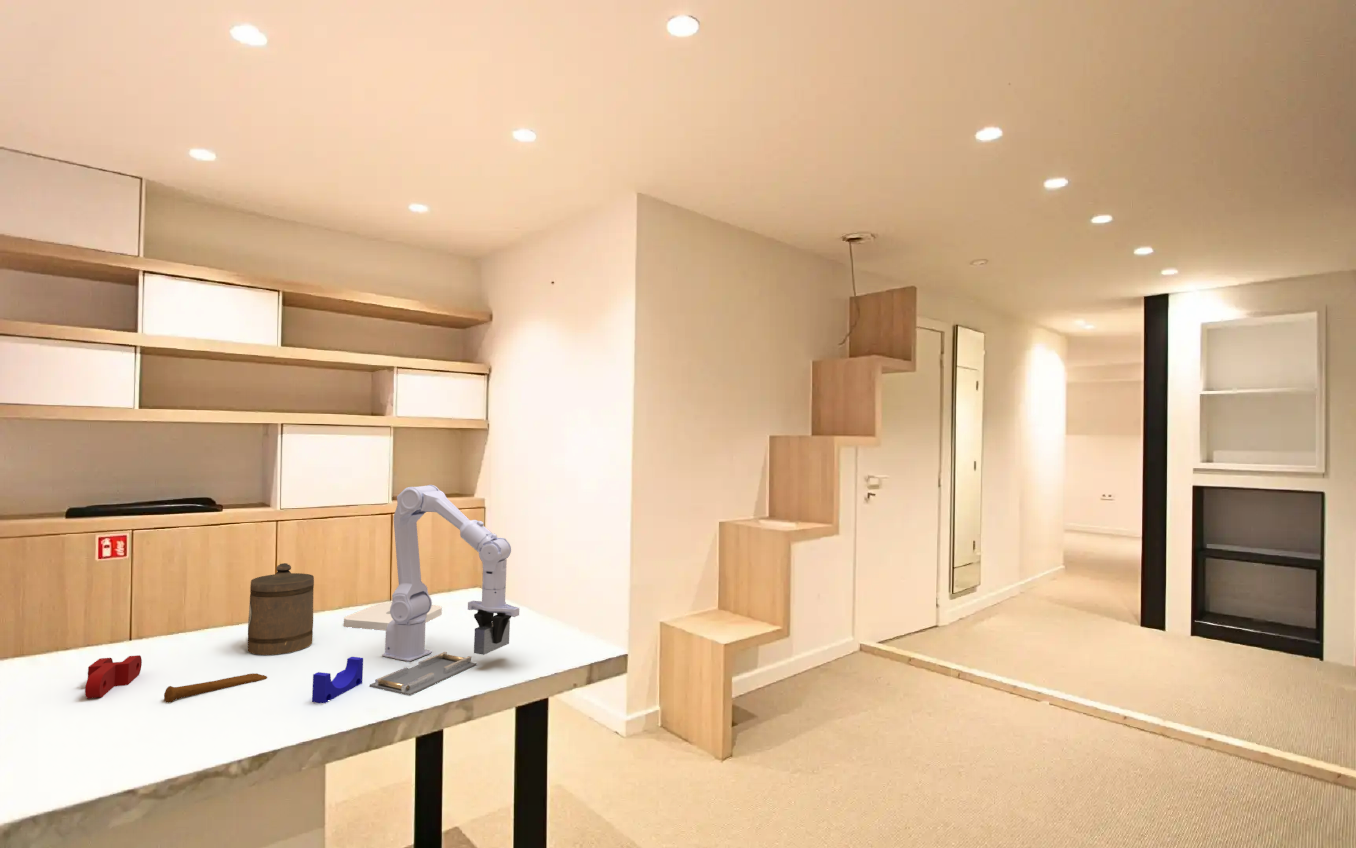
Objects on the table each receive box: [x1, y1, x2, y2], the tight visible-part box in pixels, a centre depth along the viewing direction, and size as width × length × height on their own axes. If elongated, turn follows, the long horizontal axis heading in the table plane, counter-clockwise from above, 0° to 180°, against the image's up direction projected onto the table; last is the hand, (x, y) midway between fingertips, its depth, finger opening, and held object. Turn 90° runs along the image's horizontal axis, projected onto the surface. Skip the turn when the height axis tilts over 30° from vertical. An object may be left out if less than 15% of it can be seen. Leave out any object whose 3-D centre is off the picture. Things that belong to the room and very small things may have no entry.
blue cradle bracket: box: [311, 656, 364, 704], centre depth 145 cm, size 12×4×6 cm, turn 169°
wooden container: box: [247, 563, 315, 656], centre depth 174 cm, size 15×15×22 cm
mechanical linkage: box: [84, 654, 143, 700], centre depth 144 cm, size 16×7×5 cm, turn 23°
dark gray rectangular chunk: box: [473, 619, 511, 656], centre depth 165 cm, size 3×10×6 cm, turn 157°
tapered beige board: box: [343, 601, 443, 632], centre depth 202 cm, size 22×22×3 cm
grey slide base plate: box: [369, 659, 477, 696], centre depth 156 cm, size 12×22×1 cm, turn 158°
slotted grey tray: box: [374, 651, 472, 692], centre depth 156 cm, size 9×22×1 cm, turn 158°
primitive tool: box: [163, 672, 268, 704], centre depth 145 cm, size 19×6×4 cm, turn 150°
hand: (492, 641), depth 165 cm, fingers closed on dark gray rectangular chunk, 3 cm apart
